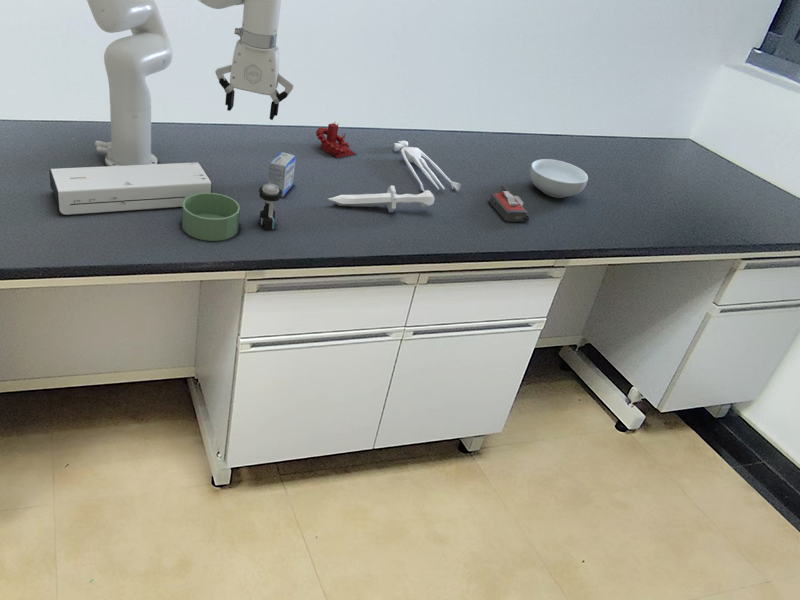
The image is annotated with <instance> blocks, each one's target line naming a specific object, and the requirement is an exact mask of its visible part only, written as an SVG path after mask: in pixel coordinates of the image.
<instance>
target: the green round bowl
mask: <svg viewBox="0 0 800 600" xmlns="http://www.w3.org/2000/svg"><path fill="white" fill-rule="evenodd" d="M240 215H241V207H240V203H238V201H237V200H235V199H234V198H232V197H230V196H229V195H225V194H222V193H216V192H212V193H198V194H194V195H191V196H189V197H187V198H186V199H184V201H183V203H182V207H181V228H182V231H184V233H186V234H187V235H188V236H190V237H192V238H193V239H197V240H201V241H207V242H219V241H225V240H229V239H231V238H233V237H235V236H236V235H237V234H238V232H239V229H240V217H241V216H240Z"/></svg>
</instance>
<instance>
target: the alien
mask: <svg viewBox="0 0 800 600" xmlns="http://www.w3.org/2000/svg"><path fill="white" fill-rule="evenodd" d="M393 151H394V152H398V151H400V153H401V155H402V157H403V160H404V162H405V163H406V165H407V167H408V169H409V170H410V171H411V173H412V174H413V176H414V178H415V179H416V180H417V182H418V183H419V185H420V186H419V187H420V188H419V189H420V191H421V192H422V191H423V192H424V191H425V187H424V184H423V182H422V181H421V179H420V177H419V176H418V174H417V173H416V171H415V169H414V168H413V165H411V163H413V164H414V165H416V167H418V168H419V169H420V170H421V172H422V173H423V174H424V176H425V177H426V178H427V179H428V180H429V181H430V182H431V183H432V184H433V186H434V187H435V188H436V189H437V190H439V191H440V188H442V190H443V191H444V190H445V189H446V188H445V187H444V185H443V183H441V181H440V179H439V178H438V177H437V176H436V174H435V173H434V171H432V169H431V168H430V167H429V166H428V163H427V162H426V160H427V161H428V162H429V163H430V164H431V166H433V168H434V169H435V170H436V171H437V172H438V173H439V174H441V175H442V177H443V178H444V179H445V180H447V182H449V184H450V185H451V187H452V189H454V188H455V190H456V191H459V189H460V188H462V184H461V183H459V182H455V181H452V180H451V179H450V178H449V176H447V175H446V173H444V171H443V170H442V169H441V168H440V167H439V166H438V165H437V163H435V161H433V160H432V159H431V158H430V157H429V156H428V155H427V154H425V152H424V151H422V150H421V149H420V148H419V147H413V146H409V142H408V141H407V140H398V141H397V142H395V143H393ZM425 159H426V160H425ZM437 184H438V185H439V186H438V185H437Z"/></svg>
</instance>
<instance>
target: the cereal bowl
mask: <svg viewBox="0 0 800 600" xmlns="http://www.w3.org/2000/svg"><path fill="white" fill-rule="evenodd" d="M529 178H530V181H531V182H532V184H533V186H534V187H536V188H537V189H538V190H540V191H541V193H543V194H544V195H546V196H549V197H552V198H556V199H563V198H566V197H568V198H569V197H574V196H577V195H579V194H580V193H581V192H582V191H584V189H585V188H586V185H587V183H588V180H589V176H588V173H586V172H585V171H584V170H583V169H581V168H580V167H578V166H577V165H575V164H572V163H569V162H565V161H563V160H558V159H551V158H542V159H536V160H534V161H533V162H531V165H530V170H529Z"/></svg>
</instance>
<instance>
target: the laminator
mask: <svg viewBox="0 0 800 600" xmlns="http://www.w3.org/2000/svg"><path fill="white" fill-rule="evenodd" d="M203 167H204V166H203V165H202V164H201V163H200V162H176V163H173V162H172V163H157V164H150V165H128V166H107V165H106V166H86V167H85V166H84V167H82V166H81V167H63V168H49V170H48V171H49V183H50V189H51V191H52V193H53V196H54V199H55V202H56V205H57V210H58V212H59V214H60V215H62V216H80V215H95V214H107V213H122V212H136V211H137V212H138V211H150V210H152V211H153V210H163V209H164V210H165V209H167V210H168V209H179V208H181V209H182V203H183V201H184V199H186V198H187V197H189V196H191V195H194V194H198V193H213V181H212V180H211V178H210V176H209V174H208V173H207V172H206V170H205V169H204V168H203Z"/></svg>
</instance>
